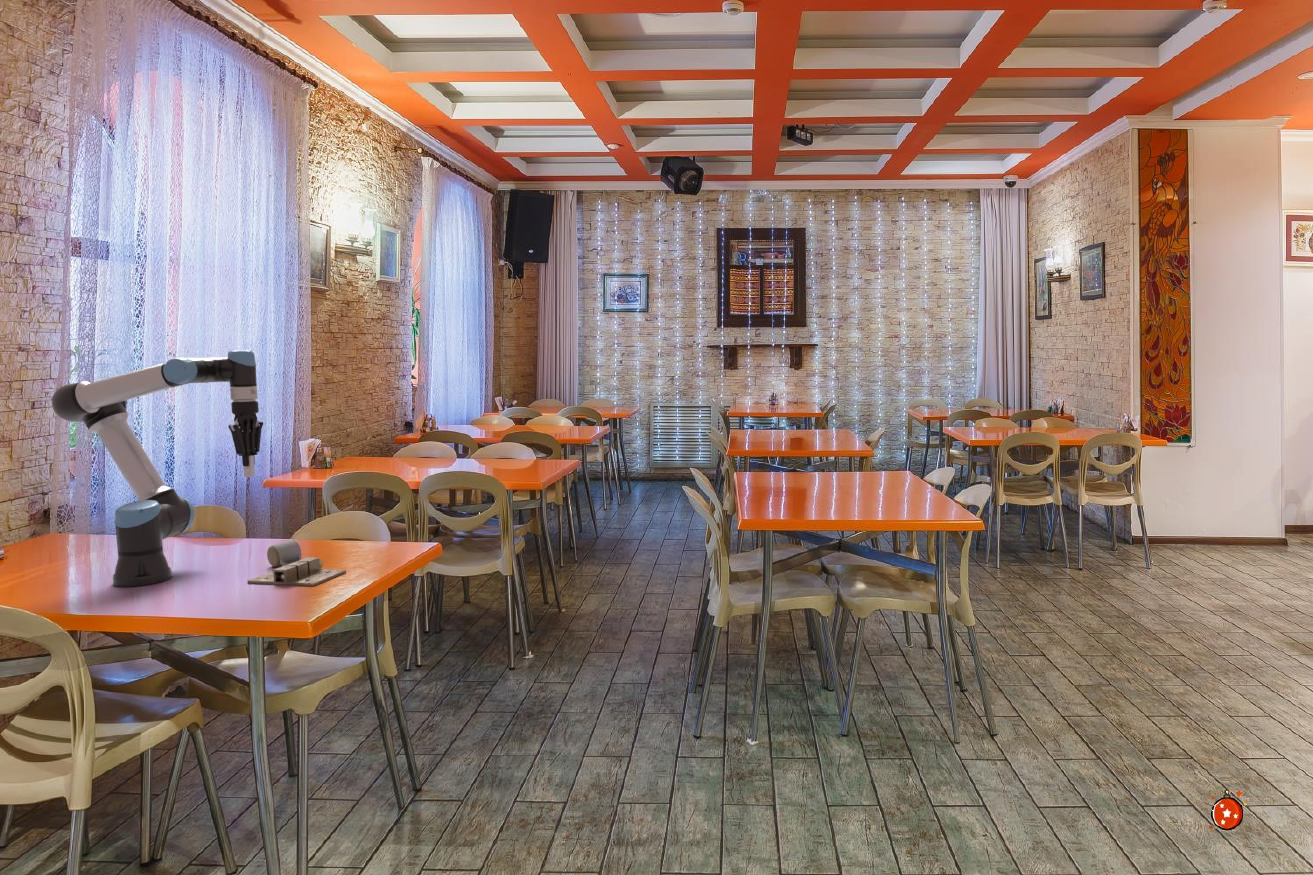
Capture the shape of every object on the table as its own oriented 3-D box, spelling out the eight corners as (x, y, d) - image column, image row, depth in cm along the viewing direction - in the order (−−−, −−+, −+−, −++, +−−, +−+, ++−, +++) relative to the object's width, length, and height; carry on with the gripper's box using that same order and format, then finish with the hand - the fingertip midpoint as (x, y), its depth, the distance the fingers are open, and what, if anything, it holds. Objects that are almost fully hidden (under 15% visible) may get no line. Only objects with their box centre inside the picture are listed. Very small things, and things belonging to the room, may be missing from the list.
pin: (287, 583, 248) (286, 571, 248) (277, 582, 249) (276, 571, 249) (323, 569, 265) (323, 558, 265) (314, 568, 266) (313, 558, 266)
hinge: (313, 586, 245) (312, 571, 245) (247, 583, 250) (246, 568, 250) (345, 572, 261) (345, 558, 260) (283, 570, 266) (282, 556, 265)
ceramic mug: (266, 566, 272) (264, 542, 271) (290, 561, 278) (289, 537, 277) (283, 571, 265) (282, 546, 265) (308, 565, 272) (306, 542, 271)
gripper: (240, 401, 256) (245, 479, 258) (269, 399, 269) (274, 473, 271) (218, 401, 258) (224, 479, 260) (248, 399, 271) (253, 473, 273)
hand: (249, 476), depth 265 cm, fingers closed
